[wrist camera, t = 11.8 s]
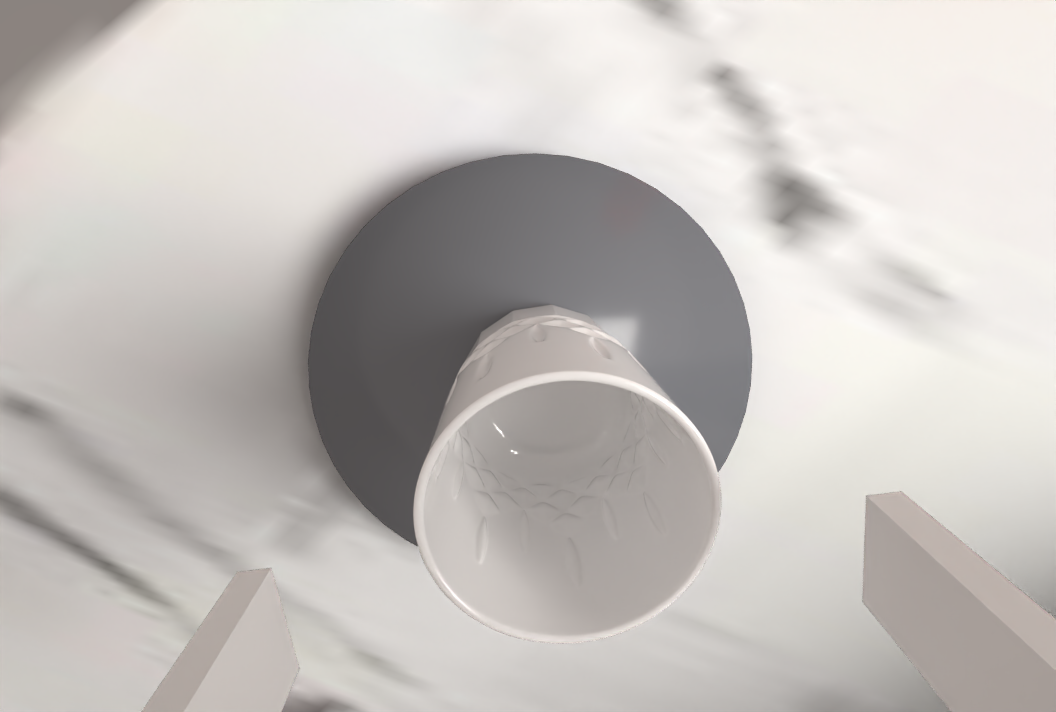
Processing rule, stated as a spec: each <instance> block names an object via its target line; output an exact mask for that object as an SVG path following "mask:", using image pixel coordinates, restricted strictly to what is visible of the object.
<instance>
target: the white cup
mask: <svg viewBox="0 0 1056 712" xmlns="http://www.w3.org/2000/svg"><path fill="white" fill-rule="evenodd" d="M720 516H721V488H720V481H719V476H718V472H717V468H716V465H715V462H714V459H713V456H712V454H711V452H710V450H709V447H708V446H707V444H706V442H705V440H704V438H703V437H702V435H701V434H700V432H699V431H698V429H697V428H696V427H695V426H694V424H693V423H692V422H691V421H690V420H689V418H688V417H687V416H686V415H685V414H684V413H683V412H682V411H681V409H680V408H679V407H678V406H677V405H676V404H675V403H674V402H673V400H672V399H671V398H670V397H669V396H668V395H667V394H666V392H665V391H664V390H663V389H662V388H661V387H660V385H659V384H658V383H657V382H656V381H655V380H654V378H653V377H652V376H651V375H650V374H649V373H648V371H647V370H646V369H645V368H644V367H643V366H642V365H641V363H640V362H639V361H638V360H637V359H636V358H635V357H634V356H633V355H632V354H631V353H630V352H629V351H628V350H627V349H626V348H625V347H624V346H623V345H622V344H621V343H620V342H619V341H618V340H616V339H615V338H614V337H612V336H610V335H609V334H608V333H607V332H606V331H605V330H604V329H602V328H601V327H600V326H599V325H598V324H597V323H596V322H595V321H594V320H593V319H592V318H591V317H589V316H588V315H585V314H582V313H579V312H575V311H572V310H568V309H565V308H562V307H558V306H555V305H545V306H538V307H532V308H526V309H519V310H513V311H512V312H510V313H509V314H507V315H506V316H504V317H503V318H501V319H500V320H498V321H497V322H495V323H494V324H492V325H491V326H489V327H488V328H486V329H485V330H483V331H482V332H481V333H480V335H479V337H478V339H477V340H476V342H475V344H474V346H473V347H472V349H471V351H470V353H469V354H468V356H467V358H466V360H465V361H464V363H463V365H462V366H461V368H460V370H459V372H458V374H457V377H456V379H455V381H454V384H453V386H452V388H451V390H450V392H449V395H448V397H447V400H446V402H445V405H444V408H443V411H442V413H441V416H440V419H439V422H438V425H437V428H436V430H435V433H434V436H433V439H432V442H431V444H430V447H429V450H428V452H427V455H426V458H425V461H424V463H423V466H422V469H421V471H420V474H419V477H418V481H417V485H416V490H415V496H414V507H413V519H414V530H415V536H416V540H417V544H418V548H419V551H420V554H421V556H422V559H423V561H424V563H425V566H426V568H427V570H428V571H429V573H430V575H431V576H432V578H433V580H434V581H435V583H436V584H437V585H438V587H439V588H440V589H441V590H442V592H443V593H444V594H445V595H446V596H447V597H448V598H449V599H450V600H451V601H452V602H453V603H454V604H455V605H456V606H457V607H458V608H460V609H461V610H462V611H463V612H465V613H466V614H467V615H469V616H470V617H472V618H473V619H475V620H476V621H478V622H480V623H482V624H483V625H485V626H487V627H489V628H491V629H494V630H496V631H498V632H501V633H503V634H506V635H509V636H512V637H516V638H520V639H524V640H529V641H535V642H542V643H558V644H564V643H580V642H587V641H593V640H598V639H603V638H606V637H610V636H613V635H616V634H619V633H622V632H625V631H627V630H630V629H632V628H634V627H636V626H638V625H640V624H642V623H644V622H646V621H648V620H649V619H651V618H653V617H654V616H656V615H657V614H659V613H660V612H661V611H663V610H664V609H666V608H667V607H668V606H669V605H671V604H672V603H673V602H674V601H675V600H676V599H677V598H678V597H679V596H680V595H681V594H682V593H683V592H684V591H685V590H686V589H687V588H688V587H689V586H690V584H691V583H692V582H693V581H694V579H695V578H696V577H697V575H698V574H699V572H700V571H701V569H702V567H703V566H704V564H705V562H706V560H707V558H708V557H709V554H710V552H711V550H712V547H713V545H714V542H715V539H716V536H717V532H718V528H719V523H720Z"/></svg>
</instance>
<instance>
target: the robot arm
mask: <svg viewBox="0 0 1056 712" xmlns="http://www.w3.org/2000/svg"><path fill="white" fill-rule="evenodd" d="M862 602H863V603H864V604H865V606H866V607H867V608H868V609H869V611H870V612H871V613H872V614H873V616H874V617H875V618H876V619H877V621H878V622H879V623H880V624H881V625H882V627H883V628H884V629H885V630H886V632H887V633H888V634H889V635H890V637H891V638H892V639H893V640H894V642H895V643H896V644H897V645H898V646H899V648H900V649H901V650H902V651H903V653H904V654H905V655H906V656H907V658H908V659H909V660H910V661H911V663H912V664H913V665H914V666H915V668H916V669H917V670H918V671H919V672H920V674H921V675H922V676H923V677H924V679H925V680H926V681H927V682H928V684H929V685H930V686H931V687H932V689H933V690H934V691H935V692H936V693H937V695H938V696H939V697H940V698H941V700H942V701H943V702H944V703H945V705H946V706H947V707H948V708H949V710H950V711H951V712H1056V619H1055V618H1054V617H1052V616H1051V615H1050V614H1049V613H1048V612H1046V611H1045V610H1044V609H1043V608H1041V607H1040V606H1039V605H1038V604H1037V603H1035V602H1034V601H1033V600H1032V599H1031V598H1029V597H1028V596H1027V595H1026V594H1025V593H1023V592H1022V591H1021V590H1020V589H1019V588H1017V587H1016V586H1015V585H1014V584H1013V583H1011V582H1010V581H1009V580H1008V579H1006V578H1005V577H1004V576H1003V575H1002V574H1000V573H999V572H998V571H997V570H996V569H994V568H993V567H992V566H991V565H990V564H988V563H987V562H986V561H985V560H984V559H982V558H981V557H980V556H979V555H978V554H976V553H975V552H974V551H973V550H971V549H970V548H969V547H968V546H967V545H965V544H964V543H963V542H962V541H961V540H959V539H958V538H957V537H956V536H955V535H953V534H952V533H951V532H950V531H949V530H947V529H946V528H945V527H944V526H943V525H941V524H940V523H939V522H938V521H936V520H935V519H934V518H933V517H932V516H930V515H929V514H928V513H927V512H926V511H924V510H923V509H922V508H921V507H920V506H918V505H917V504H916V503H915V502H914V501H912V500H911V499H910V498H909V497H908V496H906V495H905V494H904V493H903V492H901V491H900V492H892V493H884V494H875V495H867V496H866V513H865V541H864V568H863V596H862ZM299 669H300V668H299V664H298V661H297V657H296V654H295V650H294V647H293V643H292V639H291V636H290V632H289V629H288V625H287V622H286V618H285V615H284V611H283V608H282V604H281V600H280V597H279V593H278V590H277V586H276V583H275V579H274V576H273V572H272V569H271V568H266V569H258V570H250V571H242V572H237V573H236V574H235V576H234V577H233V579H232V580H231V582H230V583H229V585H228V586H227V587H226V589H225V590H224V592H223V593H222V595H221V596H220V598H219V599H218V601H217V602H216V604H215V605H214V606H213V608H212V609H211V611H210V612H209V614H208V615H207V617H206V618H205V620H204V621H203V622H202V624H201V625H200V627H199V628H198V630H197V631H196V633H195V634H194V636H193V637H192V639H191V640H190V641H189V643H188V644H187V646H186V647H185V649H184V650H183V652H182V653H181V655H180V656H179V657H178V659H177V660H176V662H175V663H174V665H173V666H172V668H171V669H170V671H169V672H168V674H167V675H166V676H165V678H164V679H163V681H162V682H161V684H160V685H159V687H158V688H157V690H156V691H155V692H154V694H153V695H152V697H151V698H150V700H149V701H148V703H147V704H146V706H145V707H144V709H143V710H142V711H141V712H282V709H283V707H284V705H285V702H286V700H287V697H288V695H289V693H290V690H291V688H292V686H293V683H294V681H295V679H296V676H297V674H298V672H299Z"/></svg>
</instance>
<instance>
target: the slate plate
mask: <svg viewBox="0 0 1056 712" xmlns="http://www.w3.org/2000/svg"><path fill="white" fill-rule="evenodd" d="M545 305H555V306H558V307H562V308H565V309H568V310H572V311H575V312H579V313H582V314H585V315H588V316H589V317H591V318H592V319H593V320H594V321H595V322H596V323H597V324H598V325H599V326H600V327H601V328H602V329H604V330H605V331H606V332H607V333H608V334H609V335H610V336H612V337H614V338H615V339H616V340H618V341H619V342H620V343H621V344H622V345H623V346H624V347H625V348H626V349H627V350H628V351H629V352H630V353H631V354H632V355H633V356H634V357H635V358H636V359H637V360H638V361H639V362H640V363H641V365H642V366H643V367H644V368H645V369H646V370H647V371H648V373H649V374H650V375H651V376H652V377H653V378H654V380H655V381H656V382H657V383H658V384H659V385H660V387H661V388H662V389H663V390H664V391H665V392H666V394H667V395H668V396H669V397H670V398H671V399H672V400H673V402H674V403H675V404H676V405H677V406H678V407H679V408H680V409H681V411H682V412H683V413H684V414H685V415H686V416H687V417H688V418H689V420H690V421H691V422H692V423H693V424H694V426H695V427H696V428H697V429H698V431H699V432H700V434H701V435H702V437H703V438H704V440H705V442H706V444H707V446H708V447H709V450H710V452H711V454H712V456H713V459H714V462H715V465H716V468H717V472H719V470H720V469H721V467H722V466H723V464H724V463H725V461H726V459H727V457H728V455H729V453H730V451H731V449H732V447H733V445H734V442H735V440H736V438H737V436H738V433H739V430H740V427H741V424H742V421H743V418H744V415H745V412H746V407H747V402H748V397H749V391H750V386H751V371H752V349H751V337H750V328H749V324H748V320H747V315H746V311H745V307H744V302H743V300H742V297H741V295H740V292H739V289H738V287H737V284H736V282H735V279H734V276H733V275H732V273H731V271H730V269H729V267H728V266H727V264H726V262H725V260H724V258H723V257H722V255H721V253H720V251H719V250H718V249H717V247H716V246H715V245H714V243H713V242H712V241H711V239H710V238H709V237H708V235H707V234H706V233H705V231H704V230H703V229H702V228H701V227H700V226H699V225H698V224H697V223H696V222H695V221H694V220H693V219H692V218H691V217H690V216H689V215H688V214H687V213H686V212H685V211H684V210H683V209H682V208H681V207H680V206H679V205H677V204H676V203H675V202H673V201H672V200H671V199H669V198H668V197H666V196H665V195H664V194H662V193H661V192H660V191H658V190H657V189H656V188H654V187H652V186H650V185H648V184H646V183H644V182H643V181H641V180H639V179H637V178H635V177H633V176H632V175H630V174H628V173H625V172H622V171H619V170H617V169H614V168H611V167H609V166H606V165H603V164H601V163H597V162H593V161H588V160H584V159H579V158H574V157H570V156H561V155H548V154H519V155H503V156H498V157H493V158H488V159H483V160H478V161H473V162H470V163H467V164H464V165H461V166H458V167H455V168H453V169H450V170H447V171H444V172H441V173H439V174H437V175H435V176H433V177H431V178H429V179H427V180H426V181H424V182H422V183H420V184H418V185H416V186H414V187H412V188H411V189H409V190H408V191H406V192H405V193H404V194H402V195H401V196H399V197H398V198H396V199H395V200H394V201H392V202H391V203H389V204H388V205H387V206H386V207H385V208H383V209H382V210H381V211H380V212H379V213H378V214H377V215H376V216H375V217H374V218H373V219H372V220H371V221H370V222H368V223H367V224H366V225H365V226H364V227H363V229H362V230H361V231H360V232H359V234H358V235H357V236H356V237H355V239H354V240H353V241H352V242H351V244H350V245H349V246H348V247H347V249H346V250H345V251H344V253H343V255H342V256H341V258H340V260H339V261H338V263H337V265H336V267H335V268H334V270H333V272H332V273H331V275H330V277H329V279H328V282H327V284H326V287H325V289H324V291H323V294H322V296H321V299H320V301H319V304H318V307H317V311H316V315H315V319H314V323H313V327H312V331H311V340H310V349H309V358H308V365H309V389H310V395H311V400H312V406H313V412H314V416H315V419H316V422H317V426H318V429H319V432H320V435H321V438H322V441H323V443H324V445H325V447H326V449H327V451H328V454H329V456H330V458H331V460H332V462H333V464H334V466H335V467H336V469H337V470H338V472H339V473H340V475H341V477H342V478H343V480H344V481H345V483H346V484H347V486H348V487H349V488H350V490H351V491H352V492H353V493H354V494H355V495H356V497H357V498H358V499H359V500H360V501H361V502H362V504H363V505H364V506H365V507H366V508H367V509H368V510H369V511H370V512H371V513H372V514H374V515H375V516H376V517H377V518H378V519H379V520H380V521H381V522H382V523H383V524H384V525H386V526H387V527H389V528H390V529H391V530H393V531H394V532H396V533H397V534H398V535H400V536H401V537H403V538H404V539H406V540H407V541H409V542H411V543H413V544H414V545H416V546H418V544H417V540H416V536H415V530H414V519H413V507H414V496H415V490H416V485H417V481H418V477H419V474H420V471H421V469H422V466H423V463H424V461H425V458H426V455H427V452H428V450H429V447H430V444H431V442H432V439H433V436H434V433H435V430H436V428H437V425H438V422H439V419H440V416H441V413H442V411H443V408H444V405H445V402H446V400H447V397H448V395H449V392H450V390H451V388H452V386H453V384H454V381H455V379H456V377H457V374H458V372H459V370H460V368H461V366H462V365H463V363H464V361H465V360H466V358H467V356H468V354H469V353H470V351H471V349H472V347H473V346H474V344H475V342H476V340H477V339H478V337H479V335H480V333H481V332H482V331H483V330H485V329H486V328H488V327H489V326H491V325H492V324H494V323H495V322H497V321H498V320H500V319H501V318H503V317H504V316H506V315H507V314H509V313H510V312H512V311H513V310H519V309H526V308H532V307H538V306H545Z"/></svg>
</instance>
